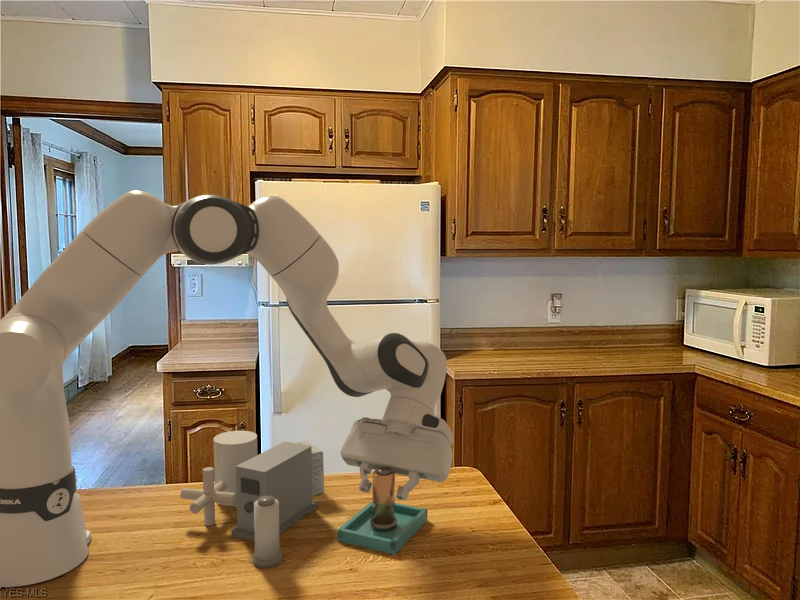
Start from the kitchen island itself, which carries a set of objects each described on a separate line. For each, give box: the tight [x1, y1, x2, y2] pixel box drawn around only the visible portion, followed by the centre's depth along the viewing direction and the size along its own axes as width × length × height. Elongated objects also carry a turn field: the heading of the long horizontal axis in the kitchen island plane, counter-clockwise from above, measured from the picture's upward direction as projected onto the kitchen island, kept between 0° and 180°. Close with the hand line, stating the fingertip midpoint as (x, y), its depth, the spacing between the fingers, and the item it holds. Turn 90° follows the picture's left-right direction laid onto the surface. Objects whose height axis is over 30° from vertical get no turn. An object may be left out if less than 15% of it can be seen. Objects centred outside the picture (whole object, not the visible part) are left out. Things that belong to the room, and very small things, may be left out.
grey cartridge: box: [252, 496, 283, 569], centre depth 100 cm, size 5×5×10 cm
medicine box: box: [295, 440, 325, 497], centre depth 128 cm, size 8×4×9 cm, turn 32°
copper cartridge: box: [370, 467, 397, 532], centre depth 110 cm, size 5×5×10 cm
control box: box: [231, 441, 318, 543], centre depth 114 cm, size 7×16×12 cm, turn 155°
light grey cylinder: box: [213, 430, 259, 507], centre depth 124 cm, size 8×8×12 cm
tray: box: [336, 500, 428, 556], centre depth 111 cm, size 11×14×2 cm
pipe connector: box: [179, 466, 237, 527], centre depth 113 cm, size 10×10×10 cm
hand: (382, 494), depth 110 cm, fingers open, 6 cm apart
